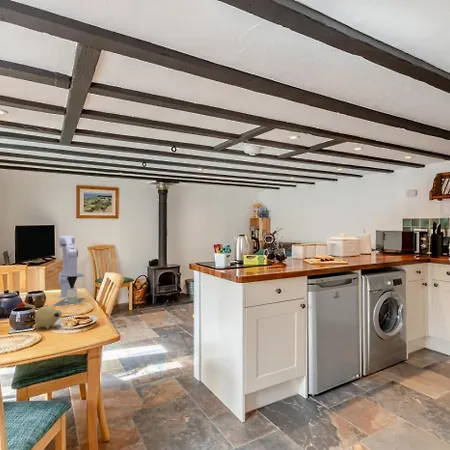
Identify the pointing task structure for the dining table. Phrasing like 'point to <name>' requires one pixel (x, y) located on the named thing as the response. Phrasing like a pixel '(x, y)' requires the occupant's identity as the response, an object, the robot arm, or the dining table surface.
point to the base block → (71, 300)
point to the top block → (71, 292)
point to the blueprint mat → (64, 302)
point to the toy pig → (47, 317)
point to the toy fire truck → (25, 305)
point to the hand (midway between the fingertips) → (72, 288)
